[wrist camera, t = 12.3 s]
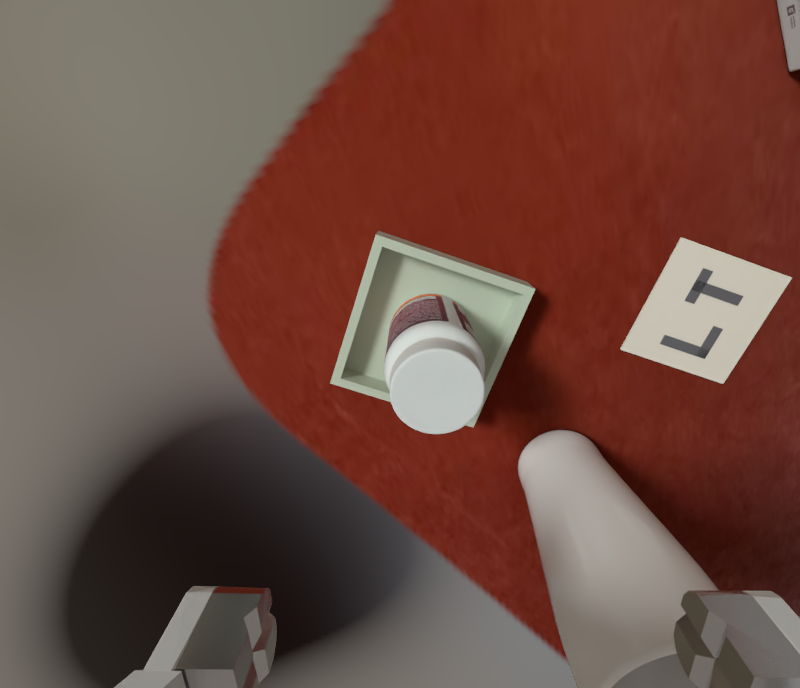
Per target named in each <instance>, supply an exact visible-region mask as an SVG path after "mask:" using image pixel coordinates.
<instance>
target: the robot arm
mask: <svg viewBox="0 0 800 688" xmlns="http://www.w3.org/2000/svg"><path fill="white" fill-rule="evenodd" d="M271 603H272V598H271V594H270V590H269V589H266V588H240V587H203V586H199V587H198V586H194V587H192V588H191V589H190V590H189V591H188V592H187V593H186V594H185V596H184V598H183V600H182V602H181V603H180V605H179V607H178V609H177V611H176V612H175V614H174V616H173V618H172V619H171V621H170V623H169V625H168V627H167V628H166V630H165V632H164V634H163V636H162V637H161V639H160V641H159V643H158V644H157V646H156V648H155V650H154V652H153V654H152V655H151V657H150V659H149V661H148V663H147V664H146V666H145V668H144V670H135V671H134V672H132V673H131V674H130V675H129V676H128V677H126V678H125V679H124V680H123V681H122V682H120V683H119V684H118V685H117V686H115V687H114V688H260V687H259V683H260V682H261V681H262V680H263V678H264V677H265V676H266V675H267V674H268V673H269V671H270V668H271V664H272V660H273V656H274V650H275V644H276V622H275V617H274V616H273V615H271V614H270V613H269V609H270V606H271ZM681 606H682V608H683V609H684V611H685V613H686V614H685V615H684V616H682V617H681V618H680V619H679V620H678V621H676V625H675V630H674V641H675V648H676V652H677V655H678V658H679V660H680V663H681V665H682V667H683V669H684V671H685V673H686V675H687V676H688V678H689V679H690V680H691V681H692V682H693V683H694V684H696V685H697V686H698V687H699V688H800V618H799V617H798V616H797V615H796V614H795V612H794V611H793V610H792V609H791V608H790V607H789V606H788V605H787V603H786V602H785V601H784V600H783V599H782V598H781V597H780V596H779V595H777V594H776V593H774V592H772V591H739V590H699V591H687V592H686V593H685V594H684V595H683V598H682V601H681Z"/></svg>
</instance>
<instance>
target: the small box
mask: <svg viewBox="0 0 800 688" xmlns="http://www.w3.org/2000/svg"><path fill="white" fill-rule="evenodd" d="M777 5H778V12H779V17H780V23H781V30H782V35H783V40H784V46H785V52H786V57H787V63H788V68H789V71H791V72H793V71H797V70H800V0H777Z"/></svg>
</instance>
